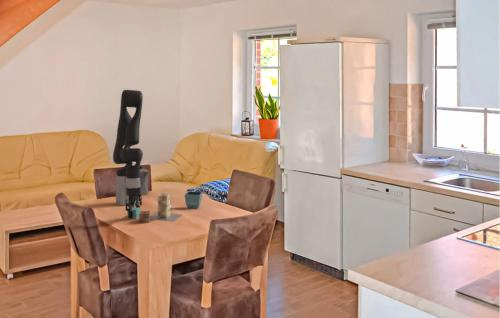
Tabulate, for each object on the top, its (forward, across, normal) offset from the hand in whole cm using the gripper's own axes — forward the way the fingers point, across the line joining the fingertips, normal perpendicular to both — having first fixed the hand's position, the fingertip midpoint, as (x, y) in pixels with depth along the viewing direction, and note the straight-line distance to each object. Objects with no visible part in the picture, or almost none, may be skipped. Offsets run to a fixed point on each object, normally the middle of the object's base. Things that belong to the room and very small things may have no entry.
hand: (134, 216), depth 290 cm
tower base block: (+1, -5, +15) cm, 16 cm away
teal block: (+2, 0, 0) cm, 2 cm away
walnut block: (+2, +6, +9) cm, 11 cm away
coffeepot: (+2, -59, -25) cm, 64 cm away
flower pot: (+2, -31, +22) cm, 38 cm away
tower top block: (-5, -5, +15) cm, 17 cm away
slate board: (+2, -5, +15) cm, 16 cm away
